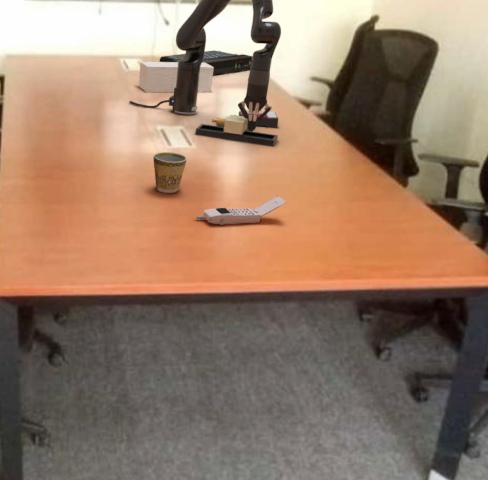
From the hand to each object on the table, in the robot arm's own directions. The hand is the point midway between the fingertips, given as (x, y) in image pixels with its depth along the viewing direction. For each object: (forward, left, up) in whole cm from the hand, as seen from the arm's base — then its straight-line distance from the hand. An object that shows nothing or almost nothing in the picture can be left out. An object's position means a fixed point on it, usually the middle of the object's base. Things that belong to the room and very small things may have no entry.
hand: (251, 130), depth 288 cm
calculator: (-2, +27, -4) cm, 27 cm away
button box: (-9, +13, -3) cm, 16 cm away
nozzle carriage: (-9, 0, -2) cm, 9 cm away
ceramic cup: (-11, -70, -4) cm, 71 cm away
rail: (-5, 0, -3) cm, 6 cm away
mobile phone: (+15, -87, -4) cm, 88 cm away
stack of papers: (-49, +68, -4) cm, 84 cm away
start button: (-9, +13, -1) cm, 16 cm away
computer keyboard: (-48, +127, -4) cm, 136 cm away
